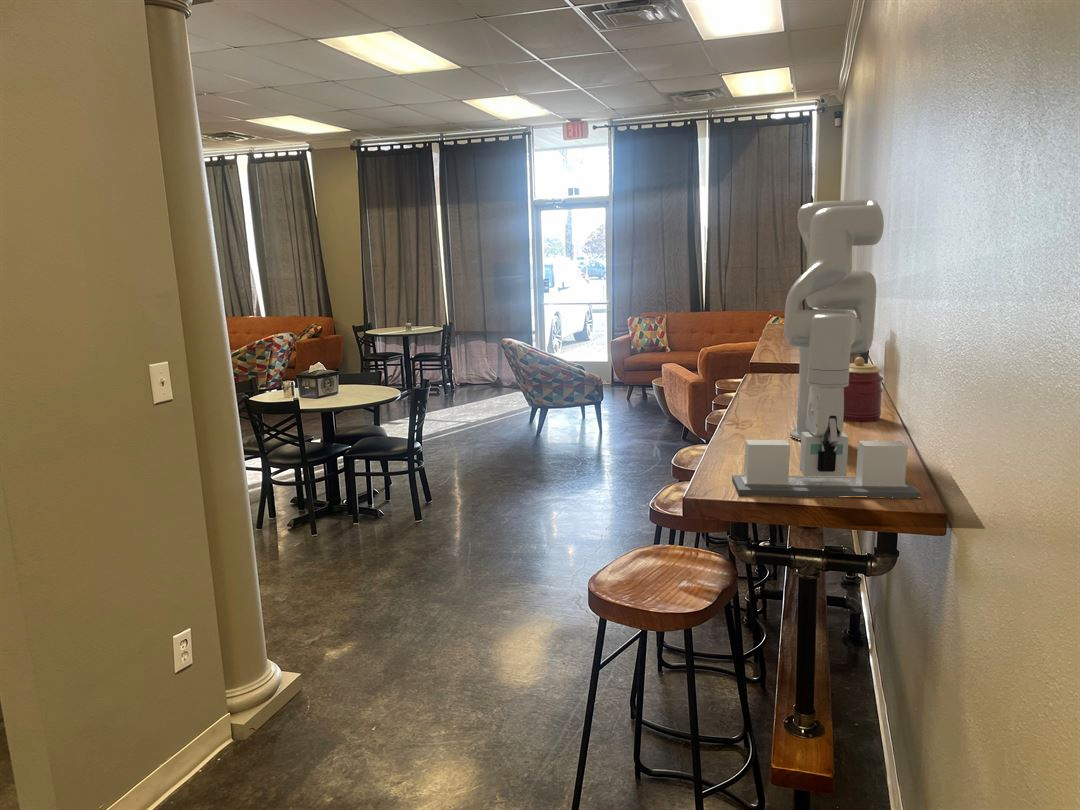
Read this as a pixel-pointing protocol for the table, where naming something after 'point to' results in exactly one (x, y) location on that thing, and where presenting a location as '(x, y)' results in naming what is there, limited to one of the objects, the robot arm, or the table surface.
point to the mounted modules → (873, 468)
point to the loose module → (810, 455)
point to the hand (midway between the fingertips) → (823, 466)
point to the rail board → (822, 490)
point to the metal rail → (823, 483)
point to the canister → (863, 393)
